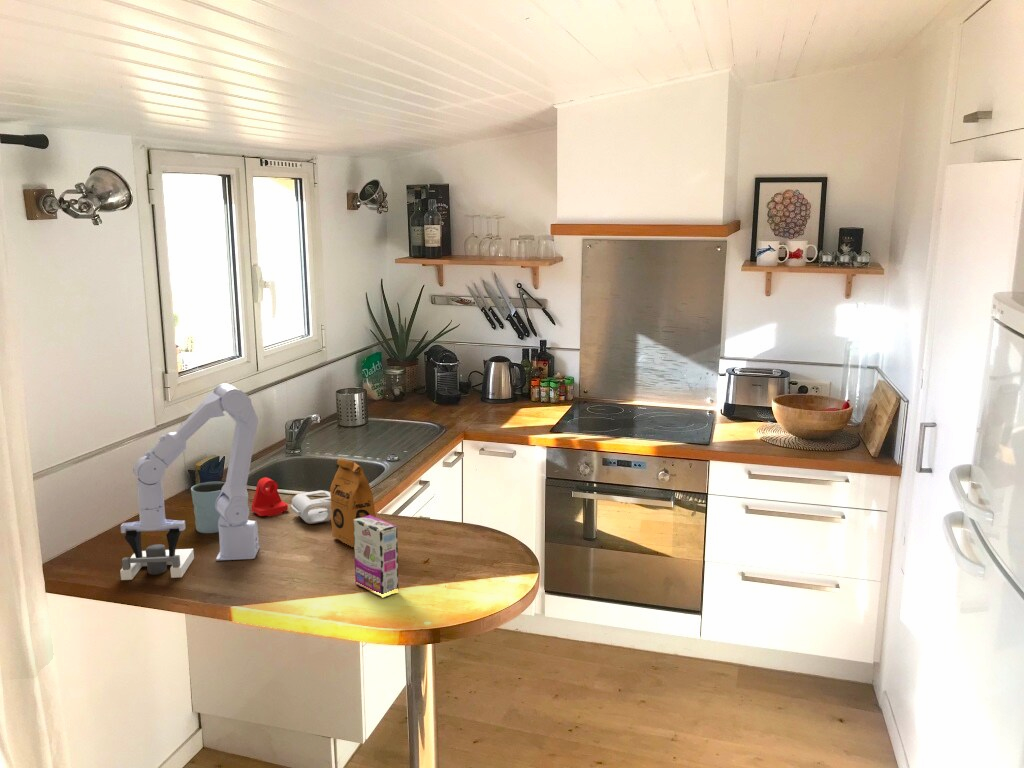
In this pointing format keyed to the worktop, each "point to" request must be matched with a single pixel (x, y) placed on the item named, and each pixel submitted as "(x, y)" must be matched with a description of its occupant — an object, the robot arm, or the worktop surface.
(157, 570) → the grey rounded cylinder
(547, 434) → the worktop surface
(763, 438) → the worktop surface
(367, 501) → the coffee package
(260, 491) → the bracket
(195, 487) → the pale teal cup
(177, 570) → the white frame with crossbar
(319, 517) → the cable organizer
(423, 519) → the worktop surface
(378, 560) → the candy bar box
